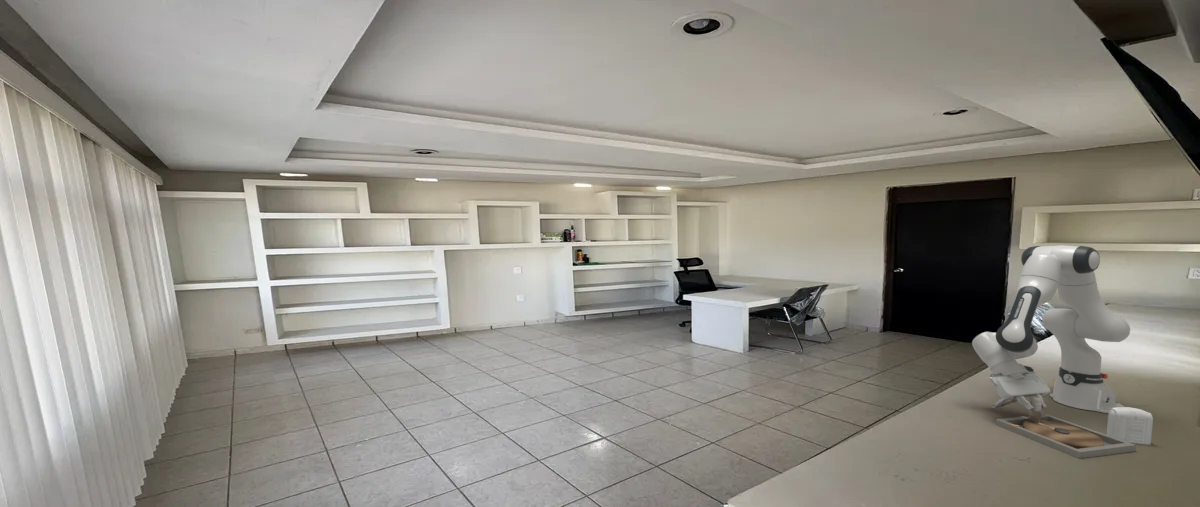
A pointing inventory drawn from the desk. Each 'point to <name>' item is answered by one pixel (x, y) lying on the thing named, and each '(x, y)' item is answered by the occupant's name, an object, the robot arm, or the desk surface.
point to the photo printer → (1130, 425)
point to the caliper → (1001, 402)
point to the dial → (1059, 429)
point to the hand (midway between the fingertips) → (1037, 408)
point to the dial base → (1110, 444)
